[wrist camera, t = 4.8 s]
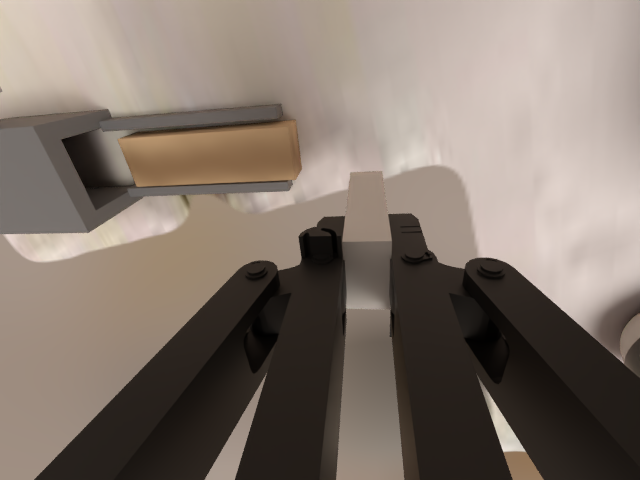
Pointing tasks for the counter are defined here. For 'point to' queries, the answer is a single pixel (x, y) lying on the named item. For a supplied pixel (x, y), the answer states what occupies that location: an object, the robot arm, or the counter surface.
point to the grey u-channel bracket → (64, 182)
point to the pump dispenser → (631, 345)
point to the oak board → (214, 154)
